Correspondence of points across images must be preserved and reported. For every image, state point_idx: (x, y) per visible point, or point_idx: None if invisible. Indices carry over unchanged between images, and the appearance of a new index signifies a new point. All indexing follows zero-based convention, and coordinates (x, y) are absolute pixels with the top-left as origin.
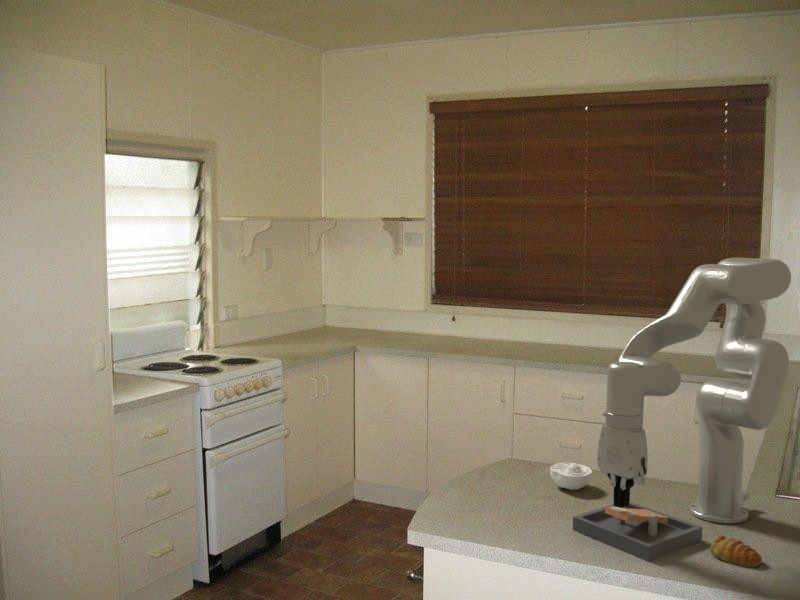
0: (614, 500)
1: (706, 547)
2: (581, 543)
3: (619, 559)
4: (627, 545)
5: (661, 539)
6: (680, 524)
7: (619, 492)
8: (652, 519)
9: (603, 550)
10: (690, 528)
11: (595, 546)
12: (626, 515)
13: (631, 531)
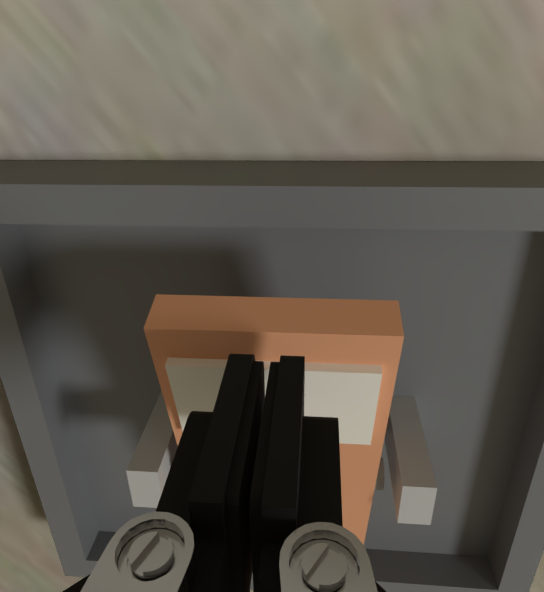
0: (292, 388)
1: (33, 484)
2: (424, 16)
3: (88, 28)
4: (128, 171)
5: (12, 338)
6: None
7: (204, 469)
8: (132, 457)
9: (247, 56)
10: (75, 537)
11: (324, 64)
12: (163, 324)
13: None
